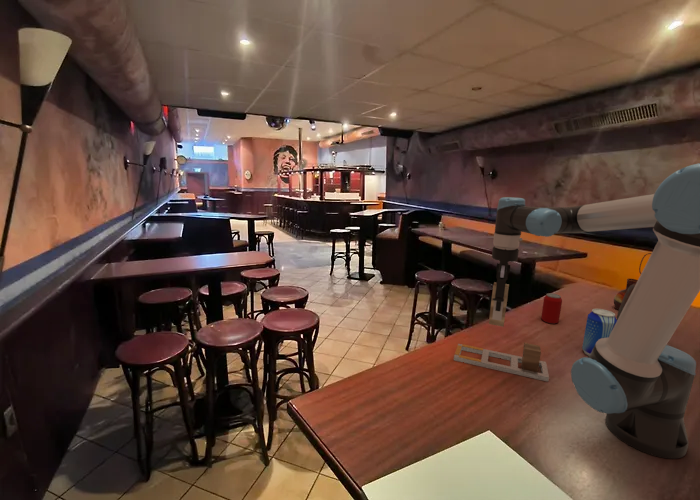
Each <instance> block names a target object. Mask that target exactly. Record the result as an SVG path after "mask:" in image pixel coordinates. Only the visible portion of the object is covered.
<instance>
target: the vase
mask: <svg viewBox="0 0 700 500" xmlns="http://www.w3.org/2000/svg"><path fill="white" fill-rule="evenodd" d="M637 281H638V279H635V278H627V279H626V286H625V289H622V290H619V291H618V292H616V294H615V295H614V298H613V305H614V308H615V309H616V310H617V311H619V308H620V305H621V303H622V300H623V298H624V296H625V293H626V291H627V289H628V288H629V287H630V286H631V285H632V284H636V283H637Z"/></svg>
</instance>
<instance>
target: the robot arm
mask: <svg viewBox="0 0 700 500" xmlns="http://www.w3.org/2000/svg"><path fill="white" fill-rule="evenodd" d="M642 228H652V231H653V232H654V235H655V236H656V238H657V240H658V241H657V242H656V244H655V246H654V249H653V250H652V252H651V253H652V254H650V256H649V258H648V260H647V262H646V264H645V266H644V268H643V270H642V271H641V274H640V276H639V277H638V279H637V280H638V281H637V283H636V285H635V287H634V289H633V291H632V293H631V295H630V297H629V299H628V301H627V303H626V304H625V306H624V308H623V310H622V312H621V314H620V316H619V318H618V320H617V322H616V324H615V326H614V328H613V330H612V332H611V334H610V336H609V337H608V338H601V339H599V340H598V341H597V342H596V344H595V346H594V348H593V350H592V352H591V354H590V356H584V357H581V358H579V359H577V360H575V361H574V363H573V364H572V366H571V370H570V376H571V382H572V383H573V386H574V389H575V390H576V392H577V394H578V396H579V397H580V398H581V399H582V401H584V403H586V404H587V405H588V406H589V407H590V408H592V409H593V410H595V411H596V412H598V413H602V414H606V415H605V420H604V421H605V425H606V427H607V428H608V430H610V432H611V433H612V434H613V435H614V436H615V437H616V438H617V439H619V440H620V441H621V442H623V443H625V444H627V445H628V446H630V447H632V448H633V449H636V450H637V451H641V452H643V453H645V454H648V455H651V456H654V457H658V458H664V459H672V460H673V459H681V458H683V457H684V456H686V454H687V451H688V448H689V438H688V434H687V429H686V425H685V419H684V417H685V412H686V409H687V405H688V401H689V398H690V395H691V391H692V387H693V383H694V379H695V376H696V375H697V373H696V370H697V369H696V368H697V361H696V360H695V358H694V357H693V356H691V355H690V354H689V353H687V352H685V351H683V350H681V349H678V348H676V347H674V346H671V345H669V344H668V343H669V341H670V340H671V339H672V337H673V335H674V334H675V332H676V331H677V329H678V327H679V326H680V323H682V320H683V319H684V317H685V316H686V314H687V312H688V311H689V309H690V307H691V306H692V304H693V303H694V301H695V299H696V298H697V296H698V294H699V292H700V163H699V162H698V163H693V164H691V165H688V166H685V167H682V168H680V169H677V170H676V171H674V172H673V173H671V174H670V175H668V176H667V177H666V178H664V180H663V181H662V182H661V183H660V184H659V186H658V187H657V188H656V190H655V192H654V193H653V194H646V195H639V196H632V197H628V198H620V199H613V200H607V201H602V202H601V201H600V202H596V203H595V202H593V203H590V204H581V205H576V206H565V207H564V206H563V207H560V206H558V207H557V206H555V207H548V206H547V207H546V206H545V207H543V206H542V207H541V206H540V207H538V206H537V207H536V206H528V205H526V199H525V198H522V197H513V196H512V197H510V196H509V197H508V196H507V197H506V196H505V197H500V198H499V199H498V204H497V208H496V216H495V227H494V232H493V242H492V245H493V247H492V251H491V252H492V253H491V259H493V260H495V261H499V263H496V268H495V269H496V274H495V279H496V283H497V286H496V294H495V298H492V297H491V300H494V308H493V316H492V319H495V320H500V321H501V319H502V311H503V303H504V291H505V284H507V283H506V282H507V281H508V280H509V273H510V272H511V271H510V270H511V264H509V262H512V263H513V262H516V261H518V260H519V251H520V250H519V249H518V248H519V247H520V242H523V237H521V235H522V233H525V234H530V235H533V236H536V237H545V238H548V237H552V236H554V235H555V234H583V233H589V232H603V231H615V230H616V231H617V230H628V229H630V230H631V229H642Z"/></svg>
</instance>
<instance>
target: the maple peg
mask: <svg viewBox="0 0 700 500" xmlns="http://www.w3.org/2000/svg"><path fill="white" fill-rule="evenodd" d="M496 286H497V281H496V282H495V281H494V282H493V285H492V293H491V301H490V310H489V316H488V317H489V319H488V325H493V326H498V327H502V328H504V326H505V318H506V313H507V311H506V310H507V304H508V303H507V302H508V298H509V297H508V296H509V289H510V288H509V287H510V284H507V283H506V284H505V291H504V303H503V311H502V319H501V321H500V320H495V319H492V316H493V308H494V300H492V298H495V294H496Z"/></svg>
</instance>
